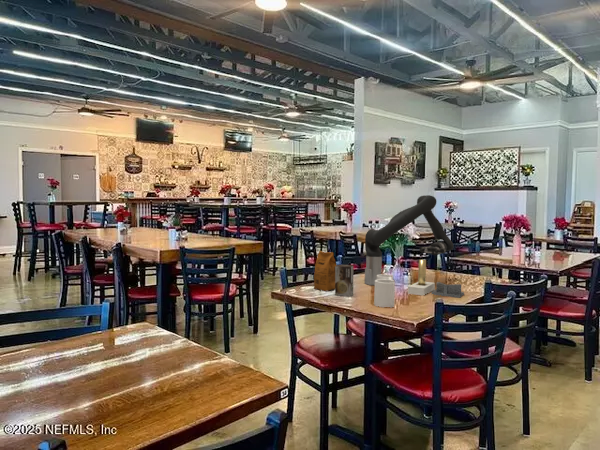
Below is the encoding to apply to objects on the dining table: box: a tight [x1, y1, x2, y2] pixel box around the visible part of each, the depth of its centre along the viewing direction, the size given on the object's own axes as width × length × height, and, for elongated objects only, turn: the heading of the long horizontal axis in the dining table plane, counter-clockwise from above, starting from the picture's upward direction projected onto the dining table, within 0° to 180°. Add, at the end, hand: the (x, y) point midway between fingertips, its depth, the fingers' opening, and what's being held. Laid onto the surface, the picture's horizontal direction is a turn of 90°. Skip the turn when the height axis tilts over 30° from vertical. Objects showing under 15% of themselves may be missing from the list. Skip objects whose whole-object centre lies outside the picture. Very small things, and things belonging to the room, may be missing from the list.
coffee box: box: [334, 264, 354, 297], centre depth 248 cm, size 9×6×16 cm
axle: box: [417, 259, 427, 286], centre depth 259 cm, size 4×4×18 cm
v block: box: [431, 281, 465, 299], centre depth 252 cm, size 10×15×6 cm, turn 57°
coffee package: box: [313, 250, 338, 292], centre depth 262 cm, size 10×12×22 cm
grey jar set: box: [373, 273, 396, 308], centre depth 233 cm, size 25×10×12 cm, turn 169°
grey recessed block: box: [407, 281, 436, 296], centre depth 259 cm, size 20×9×4 cm, turn 147°
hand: (428, 251), depth 267 cm, fingers open, 8 cm apart
